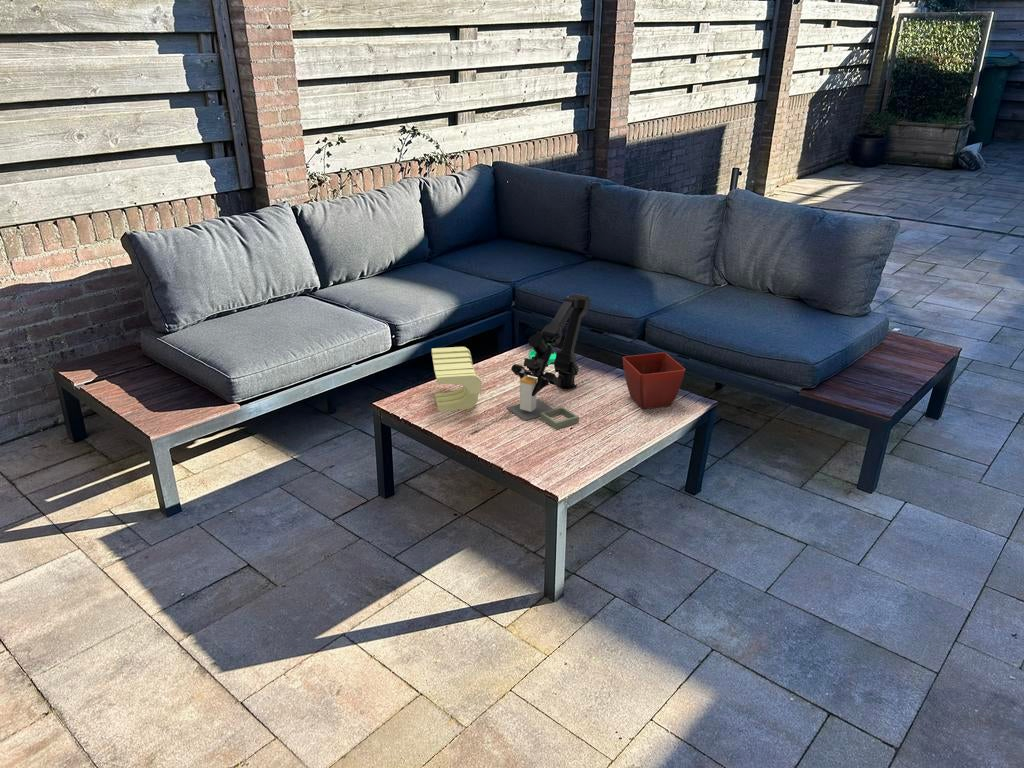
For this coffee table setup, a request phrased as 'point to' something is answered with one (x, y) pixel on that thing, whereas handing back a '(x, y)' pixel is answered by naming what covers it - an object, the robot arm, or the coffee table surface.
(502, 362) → the coffee table surface
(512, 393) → the coffee table surface
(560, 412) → the case bay
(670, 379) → the plant pot
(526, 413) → the rubber mat
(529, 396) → the block
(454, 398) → the slatted curved stool
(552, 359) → the camera mount
